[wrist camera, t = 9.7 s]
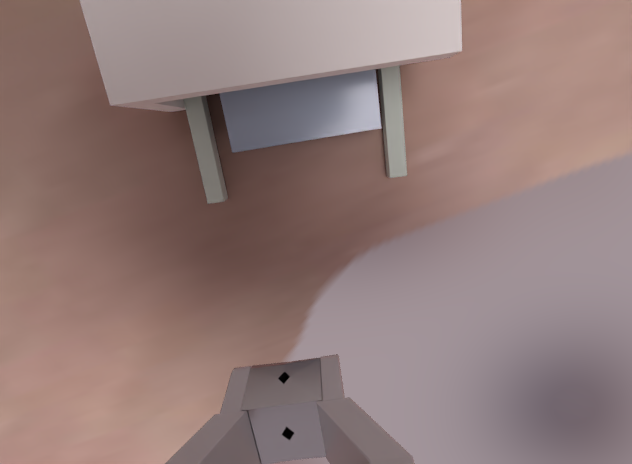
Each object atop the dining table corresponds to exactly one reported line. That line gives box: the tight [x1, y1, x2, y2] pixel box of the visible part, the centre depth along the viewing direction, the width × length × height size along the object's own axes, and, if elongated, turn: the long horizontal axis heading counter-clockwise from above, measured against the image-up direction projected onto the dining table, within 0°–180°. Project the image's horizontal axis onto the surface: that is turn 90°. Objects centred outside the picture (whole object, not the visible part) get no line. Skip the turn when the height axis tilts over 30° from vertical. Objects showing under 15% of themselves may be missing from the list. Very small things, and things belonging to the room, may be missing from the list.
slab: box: [219, 69, 381, 153], centre depth 19 cm, size 10×8×3 cm
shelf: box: [80, 0, 462, 204], centre depth 17 cm, size 15×14×6 cm
